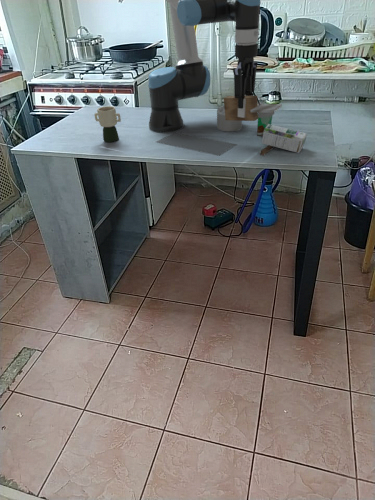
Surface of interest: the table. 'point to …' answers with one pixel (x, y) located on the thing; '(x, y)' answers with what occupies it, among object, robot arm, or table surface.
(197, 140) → the tool mat
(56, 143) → the table surface
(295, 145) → the syrup box
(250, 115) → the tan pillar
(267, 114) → the food container
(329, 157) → the table surface
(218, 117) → the grey rounded piece
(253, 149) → the table surface
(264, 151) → the bar
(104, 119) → the trophy cup
